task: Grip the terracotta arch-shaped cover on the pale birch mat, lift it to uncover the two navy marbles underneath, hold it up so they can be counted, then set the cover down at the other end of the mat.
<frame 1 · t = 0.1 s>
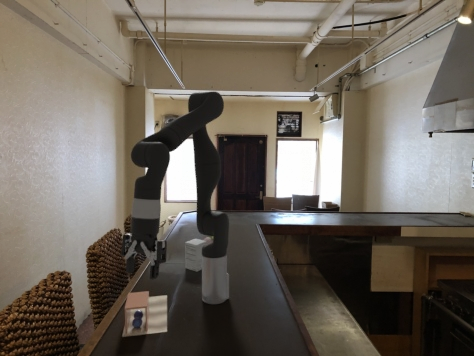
hand: (141, 275, 87), 22 cm above the bar counter, tool pointing down, fingers open, 8 cm apart
terracotta cover: (138, 323, 102), point 1 cm above the bar counter, touching birch mat
supplement box: (196, 268, 151), on the bar counter
navy marble back: (138, 315, 104), point 2 cm above the bar counter, touching birch mat
decorative fruit: (210, 253, 170), on the bar counter
birch mat: (147, 316, 108), on the bar counter
navy marble front: (137, 322, 100), point 2 cm above the bar counter, touching birch mat
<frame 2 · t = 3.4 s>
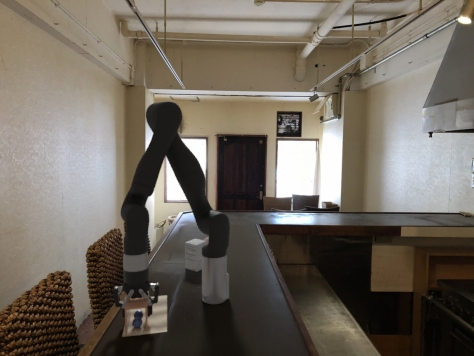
hand: (137, 316, 102), 3 cm above the bar counter, tool pointing down, fingers closed on terracotta cover, 6 cm apart
terracotta cover: (138, 323, 102), point 1 cm above the bar counter, touching birch mat, gripper
everything else where it was.
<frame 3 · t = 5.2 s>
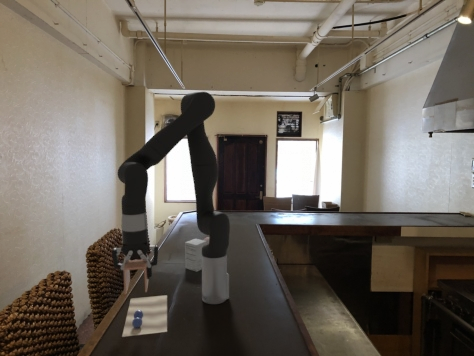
hand: (136, 279, 101), 16 cm above the bar counter, tool pointing down, fingers closed on terracotta cover, 6 cm apart
terracotta cover: (137, 285, 101), point 13 cm above the bar counter, touching gripper
everything else where it was.
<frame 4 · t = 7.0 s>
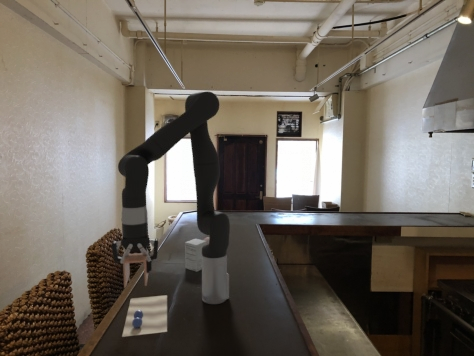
hand: (136, 272, 101), 18 cm above the bar counter, tool pointing down, fingers closed on terracotta cover, 6 cm apart
terracotta cover: (136, 279, 101), point 15 cm above the bar counter, touching gripper
everything else where it was.
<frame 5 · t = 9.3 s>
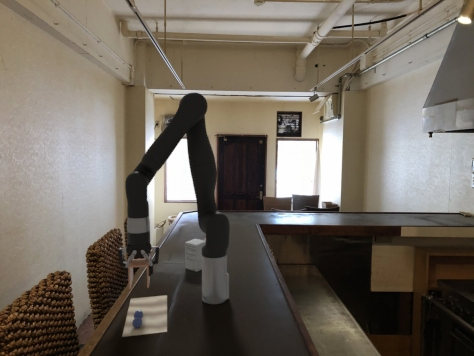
hand: (139, 276, 112), 12 cm above the bar counter, tool pointing down, fingers closed on terracotta cover, 6 cm apart
terracotta cover: (139, 282, 113), point 10 cm above the bar counter, touching gripper
everything else where it was.
when the fingers open (5 cm above the bar counter, at t = 11.1 s): terracotta cover drops 1 cm, resting on birch mat.
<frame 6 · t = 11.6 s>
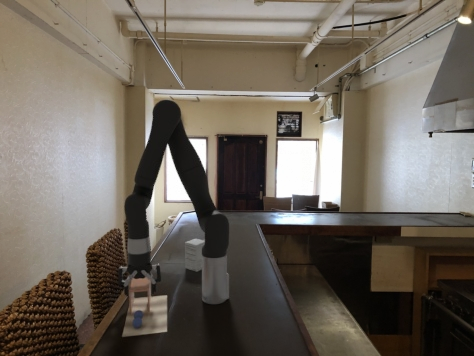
hand: (140, 294, 113), 5 cm above the bar counter, tool pointing down, fingers open, 8 cm apart
terracotta cover: (140, 305, 114), point 1 cm above the bar counter, touching birch mat
everything else where it was.
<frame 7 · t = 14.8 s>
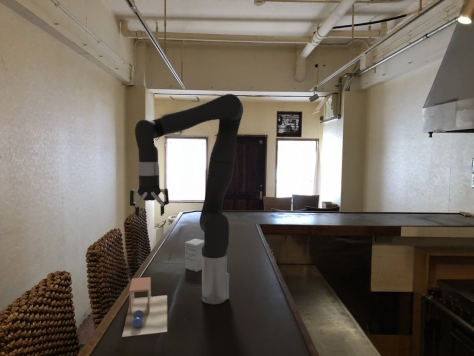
hand: (150, 216, 123), 30 cm above the bar counter, tool pointing down, fingers open, 8 cm apart
nothing on the bar counter moved.
at the end: terracotta cover 0.2 cm from the target spot, point 1.0 cm above the bar counter; navy marble front moved 0.0 cm from its start; navy marble back moved 0.0 cm from its start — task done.
